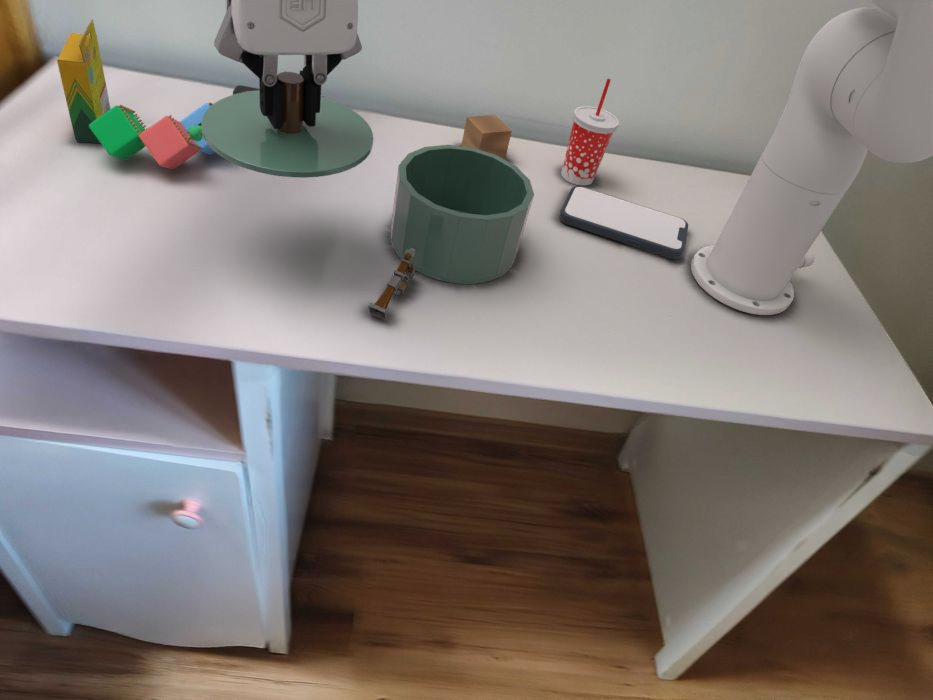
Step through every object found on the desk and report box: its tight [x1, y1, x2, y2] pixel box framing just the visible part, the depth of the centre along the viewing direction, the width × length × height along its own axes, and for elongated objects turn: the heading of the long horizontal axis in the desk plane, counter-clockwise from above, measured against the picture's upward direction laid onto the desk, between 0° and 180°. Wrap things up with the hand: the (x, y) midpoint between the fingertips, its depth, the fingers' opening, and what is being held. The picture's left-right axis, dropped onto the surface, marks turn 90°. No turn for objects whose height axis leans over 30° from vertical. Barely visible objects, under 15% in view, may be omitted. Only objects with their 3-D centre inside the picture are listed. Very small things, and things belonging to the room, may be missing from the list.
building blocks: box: [89, 101, 216, 170], centre depth 80 cm, size 8×8×12 cm
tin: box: [389, 144, 535, 285], centre depth 77 cm, size 15×15×8 cm
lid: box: [201, 71, 374, 179], centre depth 64 cm, size 16×16×6 cm
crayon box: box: [56, 19, 112, 144], centre depth 80 cm, size 7×3×12 cm, turn 10°
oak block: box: [460, 114, 513, 160], centre depth 95 cm, size 5×5×5 cm
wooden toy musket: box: [367, 248, 416, 322], centre depth 70 cm, size 2×8×4 cm, turn 157°
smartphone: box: [558, 185, 689, 260], centre depth 89 cm, size 9×2×16 cm
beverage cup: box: [560, 78, 620, 187], centre depth 92 cm, size 6×6×14 cm
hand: (290, 119), depth 64 cm, fingers closed on lid, 2 cm apart
